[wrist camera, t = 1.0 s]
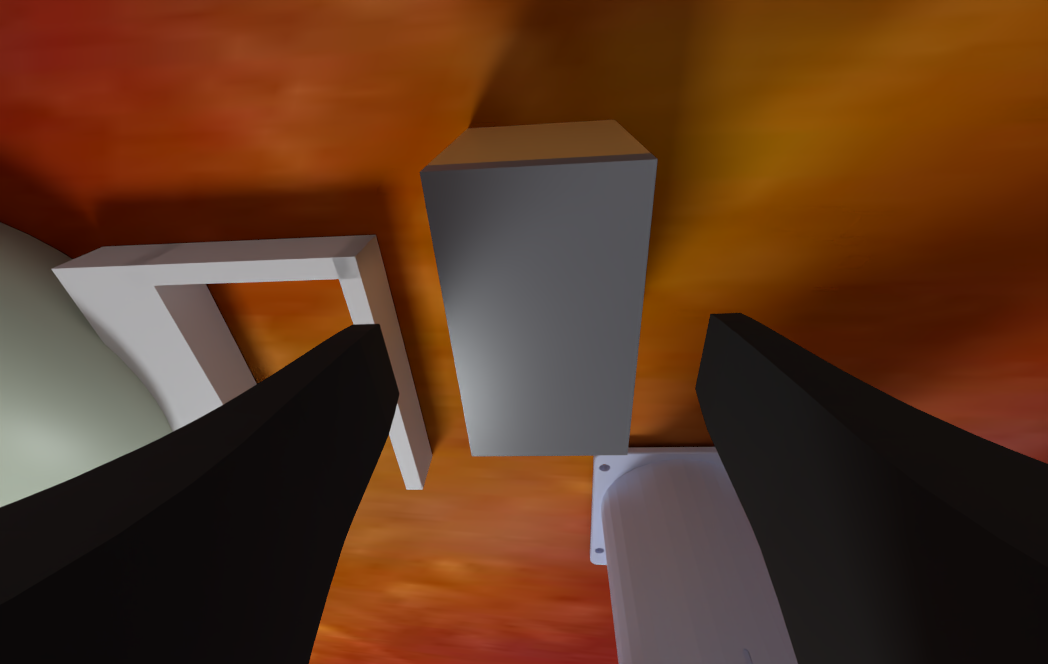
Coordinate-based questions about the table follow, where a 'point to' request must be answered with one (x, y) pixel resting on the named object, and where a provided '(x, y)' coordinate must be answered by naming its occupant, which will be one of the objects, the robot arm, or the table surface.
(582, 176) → the rectangular flat-faced block
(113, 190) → the table surface
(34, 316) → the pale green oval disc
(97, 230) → the table surface
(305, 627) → the robot arm
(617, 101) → the table surface
